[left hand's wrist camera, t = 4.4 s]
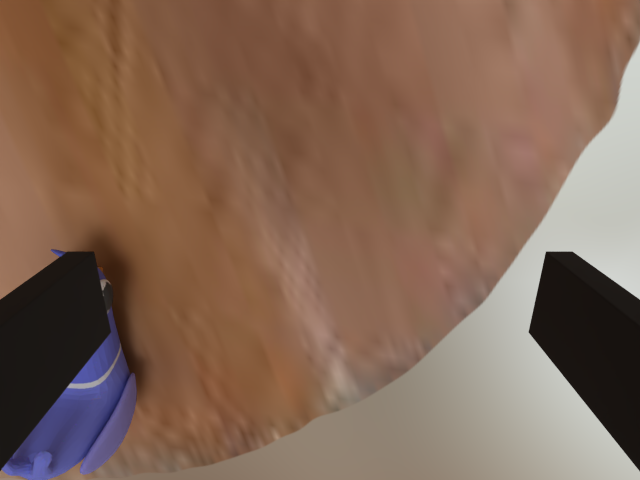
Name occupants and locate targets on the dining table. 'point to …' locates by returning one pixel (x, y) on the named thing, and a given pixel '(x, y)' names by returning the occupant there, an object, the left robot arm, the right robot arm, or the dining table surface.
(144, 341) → the dining table surface
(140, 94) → the dining table surface
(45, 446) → the toy
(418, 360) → the dining table surface
